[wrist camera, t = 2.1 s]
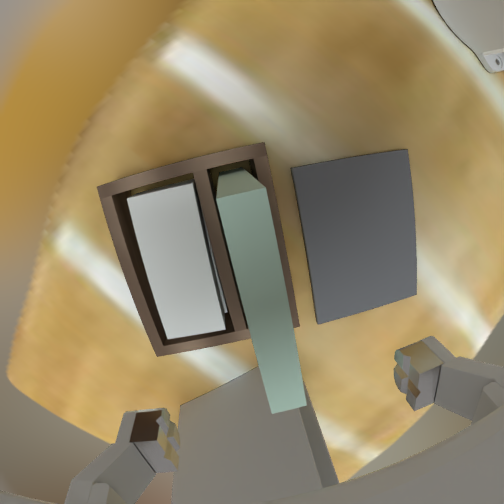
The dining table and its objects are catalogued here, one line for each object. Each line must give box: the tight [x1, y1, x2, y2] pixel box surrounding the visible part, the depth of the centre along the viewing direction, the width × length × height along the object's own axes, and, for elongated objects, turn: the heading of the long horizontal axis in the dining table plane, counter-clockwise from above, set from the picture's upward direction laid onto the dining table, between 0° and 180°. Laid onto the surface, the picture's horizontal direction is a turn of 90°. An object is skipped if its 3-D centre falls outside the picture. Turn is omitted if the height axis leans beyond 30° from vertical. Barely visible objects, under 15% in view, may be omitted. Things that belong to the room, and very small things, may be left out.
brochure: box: [171, 366, 339, 504], centre depth 21 cm, size 14×6×30 cm, turn 123°
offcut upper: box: [127, 180, 226, 339], centre depth 26 cm, size 5×12×3 cm, turn 10°
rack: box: [97, 142, 300, 357], centre depth 27 cm, size 13×16×5 cm
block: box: [216, 167, 307, 414], centre depth 22 cm, size 2×12×16 cm, turn 13°
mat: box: [291, 149, 417, 324], centre depth 31 cm, size 12×16×1 cm
